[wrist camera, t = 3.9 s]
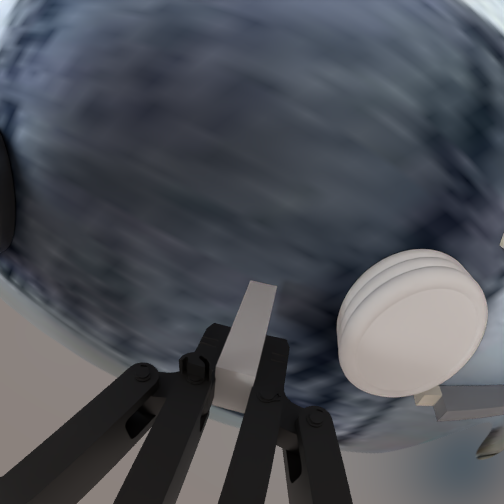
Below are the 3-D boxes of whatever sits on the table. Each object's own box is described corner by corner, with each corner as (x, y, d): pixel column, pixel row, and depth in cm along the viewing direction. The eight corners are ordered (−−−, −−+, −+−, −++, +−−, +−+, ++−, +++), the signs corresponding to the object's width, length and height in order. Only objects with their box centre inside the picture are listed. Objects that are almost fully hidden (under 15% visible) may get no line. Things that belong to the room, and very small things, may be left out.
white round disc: (311, 345, 19) (309, 383, 16) (382, 219, 15) (399, 243, 11) (417, 376, 19) (426, 408, 16) (491, 277, 14) (514, 304, 11)
